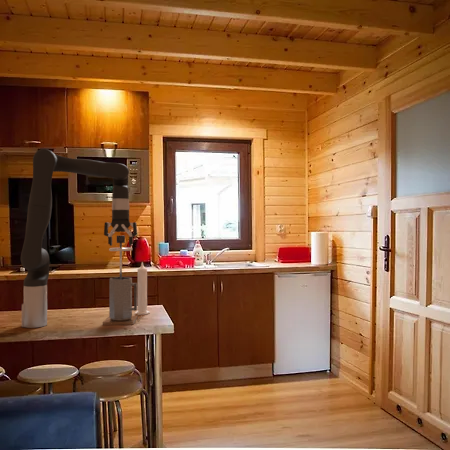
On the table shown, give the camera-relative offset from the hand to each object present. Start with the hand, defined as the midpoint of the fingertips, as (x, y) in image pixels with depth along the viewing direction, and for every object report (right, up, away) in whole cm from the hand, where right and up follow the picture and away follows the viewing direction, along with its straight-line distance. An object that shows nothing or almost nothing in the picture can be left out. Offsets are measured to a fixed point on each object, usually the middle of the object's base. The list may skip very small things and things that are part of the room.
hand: (120, 245), depth 194 cm
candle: (+6, -34, +18) cm, 39 cm away
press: (0, -34, 0) cm, 34 cm away
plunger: (0, -19, 0) cm, 19 cm away
